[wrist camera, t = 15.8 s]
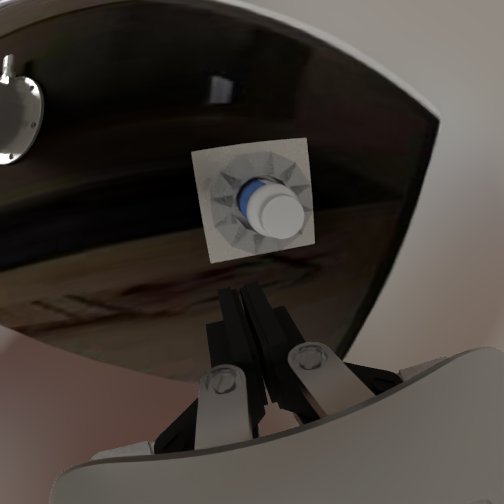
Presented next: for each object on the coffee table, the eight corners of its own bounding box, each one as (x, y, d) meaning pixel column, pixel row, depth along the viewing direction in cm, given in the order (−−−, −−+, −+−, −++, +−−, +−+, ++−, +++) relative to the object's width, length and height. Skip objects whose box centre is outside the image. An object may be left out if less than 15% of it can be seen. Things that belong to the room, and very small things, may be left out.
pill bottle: (239, 223, 34) (254, 250, 25) (234, 180, 32) (249, 191, 23) (282, 218, 35) (311, 242, 26) (279, 175, 33) (310, 185, 24)
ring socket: (191, 152, 30) (190, 151, 27) (304, 138, 32) (316, 136, 29) (210, 261, 36) (211, 273, 32) (312, 241, 37) (324, 251, 34)
